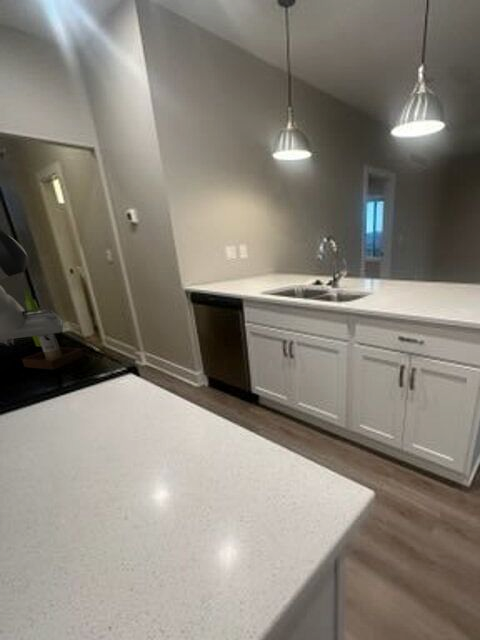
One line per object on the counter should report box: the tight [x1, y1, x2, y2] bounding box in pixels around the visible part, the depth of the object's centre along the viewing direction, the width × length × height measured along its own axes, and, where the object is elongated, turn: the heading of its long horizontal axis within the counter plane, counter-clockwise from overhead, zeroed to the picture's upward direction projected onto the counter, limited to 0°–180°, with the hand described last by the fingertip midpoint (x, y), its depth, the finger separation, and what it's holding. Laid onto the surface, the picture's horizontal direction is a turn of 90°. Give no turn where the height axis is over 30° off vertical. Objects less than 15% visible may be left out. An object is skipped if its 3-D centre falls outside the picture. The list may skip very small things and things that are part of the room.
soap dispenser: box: [22, 290, 44, 347], centre depth 125 cm, size 6×7×20 cm
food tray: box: [21, 346, 85, 371], centre depth 111 cm, size 12×11×3 cm
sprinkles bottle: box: [38, 333, 62, 361], centre depth 108 cm, size 5×5×13 cm
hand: (31, 340), depth 97 cm, fingers open, 8 cm apart
